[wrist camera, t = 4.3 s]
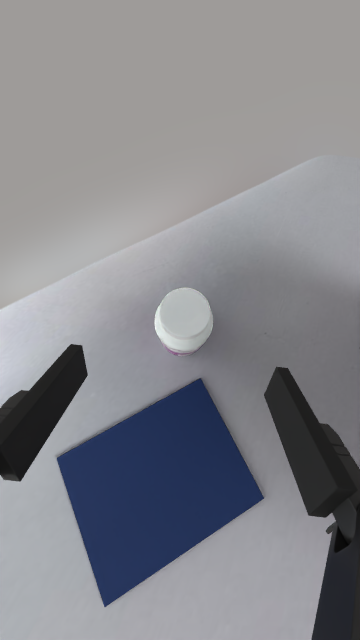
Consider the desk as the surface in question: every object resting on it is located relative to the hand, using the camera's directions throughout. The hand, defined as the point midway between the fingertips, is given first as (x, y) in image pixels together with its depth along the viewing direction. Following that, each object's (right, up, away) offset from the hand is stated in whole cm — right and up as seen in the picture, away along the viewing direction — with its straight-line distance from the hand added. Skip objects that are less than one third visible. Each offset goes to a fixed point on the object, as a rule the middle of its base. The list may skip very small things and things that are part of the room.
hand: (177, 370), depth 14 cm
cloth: (-2, -13, +7) cm, 14 cm away
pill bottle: (0, +2, +11) cm, 11 cm away
